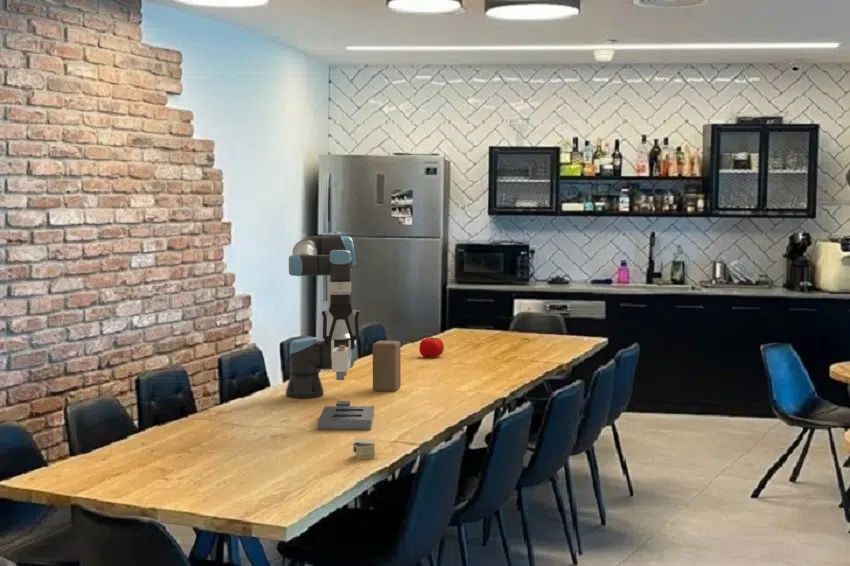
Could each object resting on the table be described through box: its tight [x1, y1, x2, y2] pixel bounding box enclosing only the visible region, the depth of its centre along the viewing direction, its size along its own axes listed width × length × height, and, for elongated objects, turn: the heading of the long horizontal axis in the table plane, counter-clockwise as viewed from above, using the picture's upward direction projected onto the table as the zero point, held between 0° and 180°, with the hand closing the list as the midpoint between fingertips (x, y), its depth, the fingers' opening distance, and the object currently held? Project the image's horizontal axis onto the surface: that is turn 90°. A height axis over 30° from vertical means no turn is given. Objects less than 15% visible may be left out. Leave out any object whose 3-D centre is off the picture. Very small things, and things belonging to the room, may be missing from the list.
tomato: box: [418, 337, 445, 358], centre depth 525 cm, size 11×13×10 cm
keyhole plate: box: [317, 405, 375, 431], centre depth 370 cm, size 18×24×4 cm
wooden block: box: [372, 340, 402, 392], centre depth 435 cm, size 10×10×20 cm
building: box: [351, 437, 376, 460], centre depth 321 cm, size 10×9×6 cm
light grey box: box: [331, 345, 351, 381], centre depth 371 cm, size 6×14×11 cm, turn 0°
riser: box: [335, 400, 351, 406], centre depth 391 cm, size 5×6×3 cm
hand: (341, 358), depth 371 cm, fingers closed on light grey box, 5 cm apart
